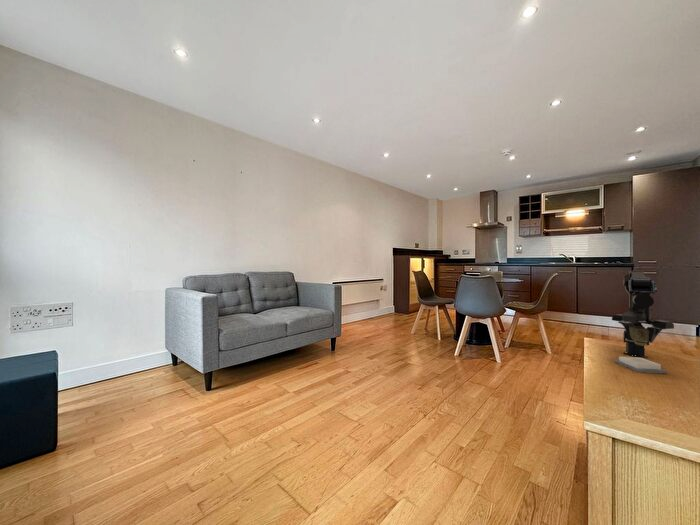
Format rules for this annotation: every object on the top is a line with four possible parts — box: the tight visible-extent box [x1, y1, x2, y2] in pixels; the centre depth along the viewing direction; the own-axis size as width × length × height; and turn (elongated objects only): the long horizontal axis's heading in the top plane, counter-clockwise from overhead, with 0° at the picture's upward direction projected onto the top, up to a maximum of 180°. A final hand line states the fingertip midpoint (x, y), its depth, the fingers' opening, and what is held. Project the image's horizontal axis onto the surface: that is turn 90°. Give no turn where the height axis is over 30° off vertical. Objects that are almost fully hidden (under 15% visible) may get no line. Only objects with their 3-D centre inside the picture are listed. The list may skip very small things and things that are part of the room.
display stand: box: [613, 356, 668, 374], centre depth 121 cm, size 12×11×3 cm
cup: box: [629, 326, 650, 347], centre depth 121 cm, size 8×7×8 cm
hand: (640, 340), depth 121 cm, fingers closed on cup, 6 cm apart
